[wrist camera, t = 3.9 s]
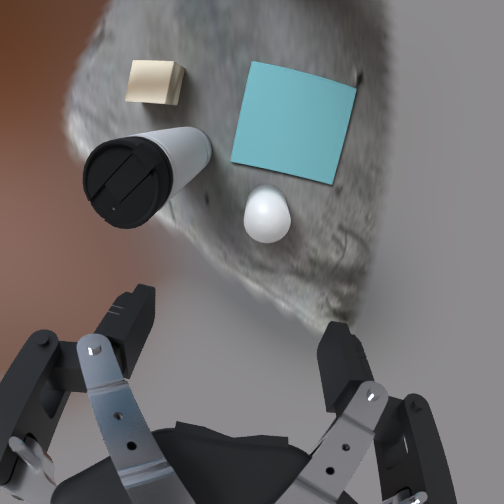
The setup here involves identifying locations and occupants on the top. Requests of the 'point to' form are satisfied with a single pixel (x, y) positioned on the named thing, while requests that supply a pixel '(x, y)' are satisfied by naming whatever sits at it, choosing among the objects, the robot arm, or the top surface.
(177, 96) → the birch block
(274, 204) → the white plastic capsule
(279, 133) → the teal mat
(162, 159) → the travel mug
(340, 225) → the top surface
